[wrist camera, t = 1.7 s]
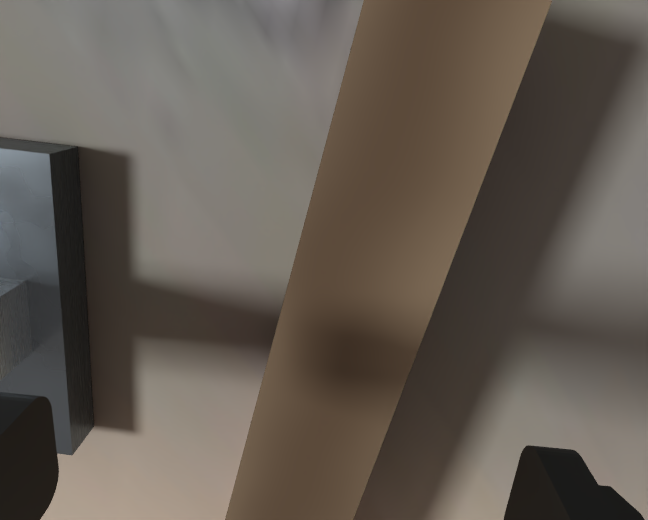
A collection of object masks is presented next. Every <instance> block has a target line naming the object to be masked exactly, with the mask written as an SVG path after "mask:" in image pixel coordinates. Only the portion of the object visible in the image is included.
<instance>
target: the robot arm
mask: <svg viewBox="0 0 648 520" xmlns="http://www.w3.org/2000/svg"><path fill="white" fill-rule="evenodd" d="M58 473H59V468H58V458H57V449H56V440H55V432H54V423H53V414H52V406H51V403H50V401H49V399H48V398H47V397H44V396H35V395H25V394H15V393H5V392H0V520H40V519H41V517H42V516H43V514H44V513H45V511H46V510H47V508H48V507H49V505H50V503H51V501H52V498H53V496H54V493H55V490H56V486H57V482H58ZM504 520H644V518H643V517H642V515H641V514H640V513H639V512H638V511H637V510H636V509H635V508H634V507H633V506H631V505H630V504H629V503H628V502H627V501H626V500H625V499H624V498H623V497H621V496H620V495H619V494H618V493H617V492H616V491H615V490H614V489H613V488H611V487H610V486H600V485H598V484H597V482H596V480H595V479H594V477H593V475H592V474H591V472H590V471H589V469H588V467H587V466H586V464H585V462H584V461H583V459H582V457H581V456H580V455H579V454H578V453H577V452H576V451H574V450H569V449H559V448H549V447H539V446H526V447H525V448H524V449H523V451H522V453H521V456H520V460H519V463H518V467H517V471H516V475H515V478H514V482H513V486H512V489H511V493H510V497H509V500H508V504H507V508H506V512H505V516H504Z"/></svg>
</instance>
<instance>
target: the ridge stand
mask: <svg viewBox="0 0 648 520" xmlns="http://www.w3.org/2000/svg"><path fill="white" fill-rule="evenodd" d="M0 392H5V393H15V394H25V395H35V396H44V397H47V398H48V399H49V401H50V403H51V406H52V414H53V423H54V432H55V440H56V449H57V453H59V454H66V455H73V454H74V452H75V451H76V450H77V448H78V447H79V446H80V444H81V443H82V442H83V440H84V439H85V438H86V436H87V435H88V434H89V432H90V431H91V430H92V428H93V427H94V420H93V403H92V386H91V368H90V351H89V333H88V316H87V298H86V281H85V264H84V246H83V229H82V211H81V194H80V176H79V159H78V147H77V146H68V145H60V144H51V143H43V142H34V141H26V140H17V139H9V138H0Z"/></svg>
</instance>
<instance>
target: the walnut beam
mask: <svg viewBox="0 0 648 520" xmlns="http://www.w3.org/2000/svg"><path fill="white" fill-rule="evenodd" d="M551 2H552V1H551V0H364V2H363V6H362V10H361V13H360V17H359V21H358V25H357V28H356V32H355V36H354V40H353V43H352V47H351V51H350V54H349V58H348V62H347V66H346V69H345V73H344V77H343V81H342V84H341V88H340V92H339V96H338V99H337V103H336V107H335V111H334V114H333V118H332V122H331V126H330V129H329V133H328V137H327V141H326V144H325V148H324V152H323V156H322V159H321V163H320V167H319V170H318V174H317V178H316V182H315V185H314V189H313V193H312V197H311V200H310V204H309V208H308V212H307V215H306V219H305V223H304V227H303V230H302V234H301V238H300V242H299V245H298V249H297V253H296V257H295V260H294V264H293V268H292V272H291V275H290V279H289V283H288V286H287V290H286V294H285V298H284V301H283V305H282V309H281V313H280V316H279V320H278V324H277V328H276V331H275V335H274V339H273V343H272V346H271V350H270V354H269V358H268V361H267V365H266V369H265V373H264V376H263V380H262V384H261V387H260V391H259V395H258V399H257V402H256V406H255V410H254V414H253V417H252V421H251V425H250V429H249V432H248V436H247V440H246V444H245V447H244V451H243V455H242V459H241V462H240V466H239V470H238V474H237V477H236V481H235V485H234V489H233V492H232V496H231V500H230V503H229V507H228V511H227V515H226V518H225V520H353V519H354V516H355V514H356V511H357V509H358V506H359V503H360V501H361V498H362V495H363V493H364V490H365V488H366V485H367V482H368V480H369V477H370V475H371V472H372V469H373V467H374V464H375V462H376V459H377V456H378V454H379V451H380V449H381V446H382V443H383V441H384V438H385V435H386V433H387V430H388V428H389V425H390V422H391V420H392V417H393V415H394V412H395V409H396V407H397V404H398V402H399V399H400V396H401V394H402V391H403V389H404V386H405V383H406V381H407V378H408V375H409V373H410V370H411V368H412V365H413V362H414V360H415V357H416V355H417V352H418V349H419V347H420V344H421V342H422V339H423V336H424V334H425V331H426V329H427V326H428V323H429V321H430V318H431V315H432V313H433V310H434V308H435V305H436V302H437V300H438V297H439V295H440V292H441V289H442V287H443V284H444V282H445V279H446V276H447V274H448V271H449V269H450V266H451V263H452V261H453V258H454V255H455V253H456V250H457V248H458V245H459V242H460V240H461V237H462V235H463V232H464V229H465V227H466V224H467V222H468V219H469V216H470V214H471V211H472V209H473V206H474V203H475V201H476V198H477V196H478V193H479V190H480V188H481V185H482V182H483V180H484V177H485V175H486V172H487V169H488V167H489V164H490V162H491V159H492V156H493V154H494V151H495V149H496V146H497V143H498V141H499V138H500V136H501V133H502V130H503V128H504V125H505V122H506V120H507V117H508V115H509V112H510V109H511V107H512V104H513V102H514V99H515V96H516V94H517V91H518V89H519V86H520V83H521V81H522V78H523V76H524V73H525V70H526V68H527V65H528V62H529V60H530V57H531V55H532V52H533V49H534V47H535V44H536V42H537V39H538V36H539V34H540V31H541V29H542V26H543V23H544V21H545V18H546V16H547V13H548V10H549V8H550V5H551Z"/></svg>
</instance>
